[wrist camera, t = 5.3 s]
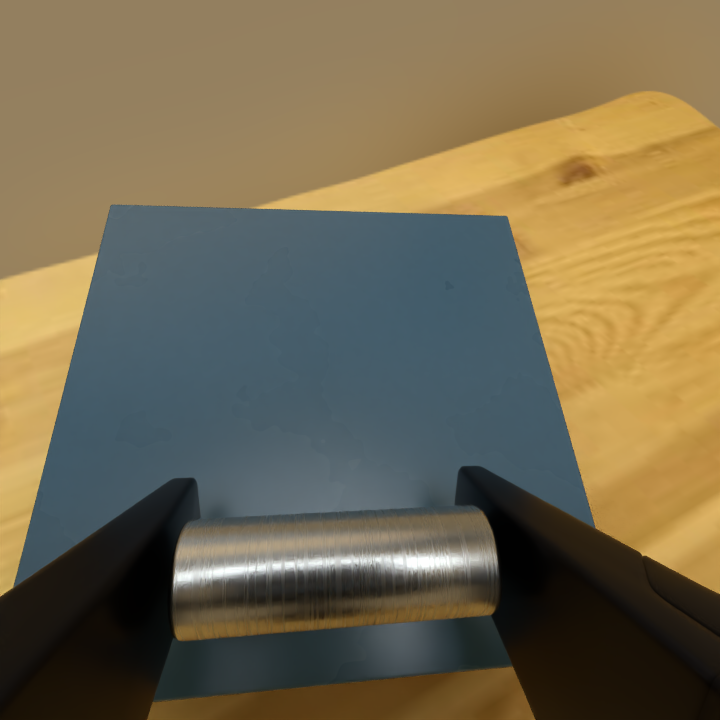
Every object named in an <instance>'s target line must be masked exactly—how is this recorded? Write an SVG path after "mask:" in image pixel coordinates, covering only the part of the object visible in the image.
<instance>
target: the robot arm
mask: <svg viewBox="0 0 720 720" xmlns="http://www.w3.org/2000/svg"><path fill="white" fill-rule="evenodd" d="M456 505H474V506H477V507H479V508H480V509H481V510H482V511H483V512H484V513H485V515H486V516H487V518H488V520H489V521H490V524H491V526H492V528H493V531H494V534H495V537H496V540H497V544H498V548H499V553H500V558H501V565H502V576H503V589H502V598H501V603H500V605H499V608H498V609H497V611H496V612H494V613H493V614H491V617H492V619H493V621H494V624H495V626H496V628H497V631H498V633H499V635H500V638H501V640H502V642H503V645H504V647H505V649H506V652H507V654H508V656H509V659H510V661H511V663H512V666H513V668H514V670H515V672H516V675H517V677H518V679H519V682H520V684H521V686H522V689H523V691H524V693H525V696H526V698H527V700H528V703H529V705H530V707H531V710H532V712H533V714H534V717H535V719H536V720H720V594H718V593H716V592H714V591H712V590H710V589H708V588H706V587H704V586H702V585H700V584H698V583H696V582H694V581H692V580H690V579H688V578H687V577H685V576H683V575H681V574H679V573H677V572H675V571H673V570H671V569H669V568H667V567H666V566H664V565H662V564H660V563H658V562H657V561H655V560H653V559H651V558H649V557H647V556H643V557H642V555H641V553H640V552H638V551H636V550H634V549H632V548H631V547H629V546H627V545H625V544H623V543H621V542H620V541H618V540H616V539H614V538H612V537H610V536H609V535H607V534H605V533H603V532H601V531H599V530H597V529H596V528H594V527H592V526H590V525H588V524H586V523H585V522H583V521H581V520H579V519H577V518H575V517H573V516H572V515H570V514H568V513H566V512H564V511H562V510H561V509H559V508H557V507H555V506H553V505H551V504H550V503H548V502H546V501H544V500H542V499H540V498H538V497H537V496H535V495H533V494H531V493H529V492H527V491H526V490H524V489H522V488H520V487H518V486H516V485H514V484H513V483H511V482H509V481H507V480H505V479H503V478H502V477H500V476H498V475H496V474H494V473H492V472H491V471H489V470H487V469H485V468H483V467H481V466H462V467H461V468H460V469H459V471H458V476H457V485H456V494H455V506H456ZM193 519H201V514H200V504H199V495H198V485H197V481H196V480H195V478H191V477H190V478H174V479H171V480H170V481H168V482H167V483H165V484H164V485H162V486H161V487H159V488H158V489H156V490H155V491H154V492H152V493H151V494H149V495H148V496H146V497H145V498H143V499H142V500H140V501H139V502H138V503H136V504H135V505H133V506H132V507H130V508H129V509H127V510H126V511H124V512H123V513H122V514H120V515H119V516H117V517H116V518H114V519H113V520H111V521H110V522H108V523H107V524H106V525H104V526H103V527H101V528H100V529H98V530H97V531H95V532H94V533H92V534H91V535H90V536H88V537H87V538H85V539H84V540H82V541H81V542H79V543H78V544H76V545H75V546H74V547H72V548H71V549H69V550H68V551H66V552H65V553H63V554H62V555H60V556H59V557H58V558H56V559H55V560H53V561H52V562H50V563H49V564H47V565H46V566H44V567H43V568H41V569H40V570H39V571H37V572H36V573H34V574H33V575H31V576H30V577H28V578H27V579H25V580H24V581H23V582H21V583H20V584H18V585H17V586H15V587H14V588H12V589H11V590H9V591H8V592H6V593H5V594H4V595H2V596H1V597H0V720H147V718H148V715H149V711H150V708H151V705H152V702H153V699H154V696H155V693H156V690H157V687H158V684H159V681H160V678H161V674H162V671H163V668H164V665H165V662H166V659H167V656H168V653H169V650H170V647H171V644H172V641H173V638H174V637H173V636H172V633H171V630H170V625H169V619H168V607H167V597H168V581H169V573H170V566H171V561H172V556H173V552H174V548H175V544H176V541H177V539H178V536H179V533H180V531H181V529H182V527H183V526H184V524H185V523H186V522H188V521H190V520H193Z"/></svg>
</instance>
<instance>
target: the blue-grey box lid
mask: <svg viewBox="0 0 720 720" xmlns="http://www.w3.org/2000/svg"><path fill="white" fill-rule="evenodd" d="M462 466H481V467H483V468H485V469H487V470H489V471H491V472H492V473H494V474H496V475H498V476H500V477H502V478H503V479H505V480H507V481H509V482H511V483H513V484H514V485H516V486H518V487H520V488H522V489H524V490H526V491H527V492H529V493H531V494H533V495H535V496H537V497H538V498H540V499H542V500H544V501H546V502H548V503H550V504H551V505H553V506H555V507H557V508H559V509H561V510H562V511H564V512H566V513H568V514H570V515H572V516H573V517H575V518H577V519H579V520H581V521H583V522H585V523H586V524H588V525H590V526H592V527H594V528H595V525H594V521H593V518H592V514H591V510H590V507H589V503H588V500H587V496H586V493H585V489H584V486H583V482H582V479H581V475H580V472H579V468H578V464H577V461H576V457H575V454H574V450H573V447H572V443H571V440H570V436H569V433H568V429H567V426H566V422H565V418H564V415H563V411H562V408H561V404H560V401H559V397H558V394H557V390H556V387H555V383H554V380H553V376H552V372H551V369H550V365H549V362H548V358H547V355H546V351H545V348H544V344H543V341H542V337H541V334H540V330H539V326H538V323H537V319H536V316H535V312H534V309H533V305H532V302H531V298H530V295H529V291H528V288H527V284H526V281H525V277H524V273H523V270H522V266H521V263H520V259H519V256H518V252H517V249H516V245H515V242H514V238H513V235H512V231H511V227H510V224H509V220H508V217H507V216H488V215H453V214H419V213H384V212H350V211H315V210H281V209H246V208H245V209H244V208H210V207H209V208H208V207H177V206H143V205H111V206H110V210H109V214H108V218H107V222H106V226H105V230H104V234H103V238H102V242H101V246H100V250H99V253H98V257H97V261H96V265H95V269H94V273H93V277H92V281H91V285H90V289H89V293H88V297H87V301H86V304H85V308H84V312H83V316H82V320H81V324H80V328H79V332H78V336H77V340H76V344H75V348H74V352H73V355H72V359H71V363H70V367H69V371H68V375H67V379H66V383H65V387H64V391H63V395H62V399H61V403H60V406H59V410H58V414H57V418H56V422H55V426H54V430H53V434H52V438H51V442H50V446H49V450H48V454H47V458H46V461H45V465H44V469H43V473H42V477H41V481H40V485H39V489H38V493H37V497H36V501H35V505H34V509H33V512H32V516H31V520H30V524H29V528H28V532H27V536H26V540H25V544H24V548H23V552H22V556H21V560H20V564H19V567H18V571H17V575H16V579H15V583H14V587H15V586H17V585H18V584H20V583H21V582H23V581H24V580H25V579H27V578H28V577H30V576H31V575H33V574H34V573H36V572H37V571H39V570H40V569H41V568H43V567H44V566H46V565H47V564H49V563H50V562H52V561H53V560H55V559H56V558H58V557H59V556H60V555H62V554H63V553H65V552H66V551H68V550H69V549H71V548H72V547H74V546H75V545H76V544H78V543H79V542H81V541H82V540H84V539H85V538H87V537H88V536H90V535H91V534H92V533H94V532H95V531H97V530H98V529H100V528H101V527H103V526H104V525H106V524H107V523H108V522H110V521H111V520H113V519H114V518H116V517H117V516H119V515H120V514H122V513H123V512H124V511H126V510H127V509H129V508H130V507H132V506H133V505H135V504H136V503H138V502H139V501H140V500H142V499H143V498H145V497H146V496H148V495H149V494H151V493H152V492H154V491H155V490H156V489H158V488H159V487H161V486H162V485H164V484H165V483H167V482H168V481H170V480H171V479H174V478H190V477H191V478H195V480H196V481H197V485H198V495H199V504H200V514H201V519H193V520H190V521H188V522H186V523H185V524H184V526H183V527H182V529H181V531H180V533H179V536H178V539H177V541H176V544H175V548H174V552H173V556H172V561H171V566H170V573H169V581H168V597H167V607H168V619H169V625H170V630H171V633H172V636H173V637H174V638H173V641H172V644H171V647H170V650H169V653H168V656H167V659H166V662H165V665H164V668H163V671H162V674H161V678H160V681H159V684H158V687H157V690H156V693H155V696H154V699H153V702H162V701H172V700H182V699H192V698H202V697H212V696H222V695H233V694H243V693H253V692H263V691H273V690H283V689H293V688H303V687H313V686H323V685H333V684H343V683H353V682H363V681H374V680H384V679H394V678H404V677H414V676H424V675H434V674H444V673H454V672H464V671H474V670H484V669H494V668H504V667H513V666H512V663H511V661H510V659H509V656H508V654H507V652H506V649H505V647H504V645H503V642H502V640H501V638H500V635H499V633H498V631H497V628H496V626H495V624H494V621H493V619H492V617H491V614H493V613H494V612H496V611H497V609H498V608H499V605H500V603H501V598H502V589H503V576H502V565H501V558H500V553H499V548H498V544H497V540H496V537H495V534H494V531H493V528H492V526H491V524H490V521H489V520H488V518H487V516H486V515H485V513H484V512H483V511H482V510H481V509H480V508H479V507H477V506H474V505H456V506H455V494H456V485H457V476H458V471H459V469H460V468H461V467H462ZM14 587H13V588H14Z"/></svg>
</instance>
